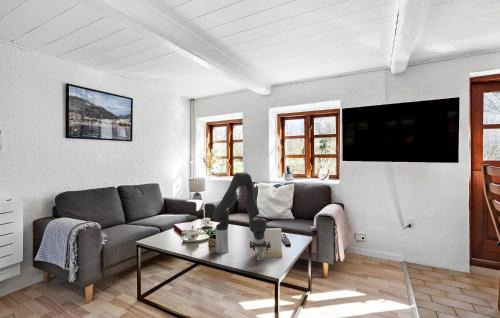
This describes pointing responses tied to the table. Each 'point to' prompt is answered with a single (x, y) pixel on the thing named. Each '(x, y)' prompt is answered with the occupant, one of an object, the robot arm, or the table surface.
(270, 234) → the wall board
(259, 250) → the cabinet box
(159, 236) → the table surface
